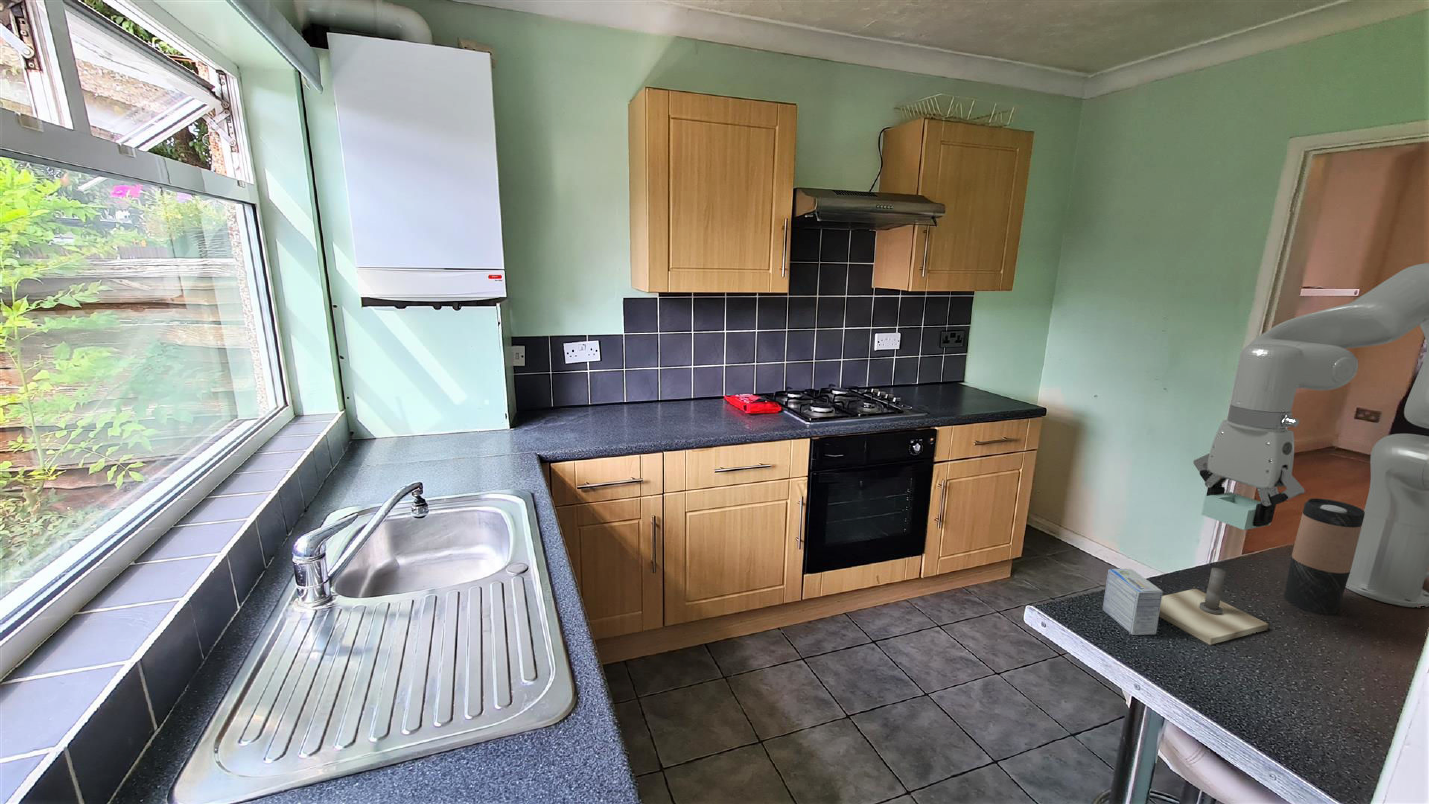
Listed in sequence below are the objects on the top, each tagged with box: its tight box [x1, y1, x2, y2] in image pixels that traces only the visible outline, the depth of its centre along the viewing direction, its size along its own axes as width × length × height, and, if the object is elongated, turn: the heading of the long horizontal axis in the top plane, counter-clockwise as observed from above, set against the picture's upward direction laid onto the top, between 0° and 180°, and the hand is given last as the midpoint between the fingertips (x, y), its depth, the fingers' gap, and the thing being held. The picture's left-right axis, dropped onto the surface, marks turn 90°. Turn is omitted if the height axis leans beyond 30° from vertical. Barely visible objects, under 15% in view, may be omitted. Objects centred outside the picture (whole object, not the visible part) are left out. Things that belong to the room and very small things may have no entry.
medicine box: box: [1102, 568, 1163, 636], centre depth 103 cm, size 8×4×9 cm, turn 0°
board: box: [1159, 567, 1269, 646], centre depth 104 cm, size 14×12×9 cm
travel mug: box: [1283, 497, 1365, 616], centre depth 106 cm, size 8×8×20 cm
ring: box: [1201, 491, 1272, 531], centre depth 100 cm, size 7×7×4 cm
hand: (1236, 515), depth 100 cm, fingers closed on ring, 6 cm apart
